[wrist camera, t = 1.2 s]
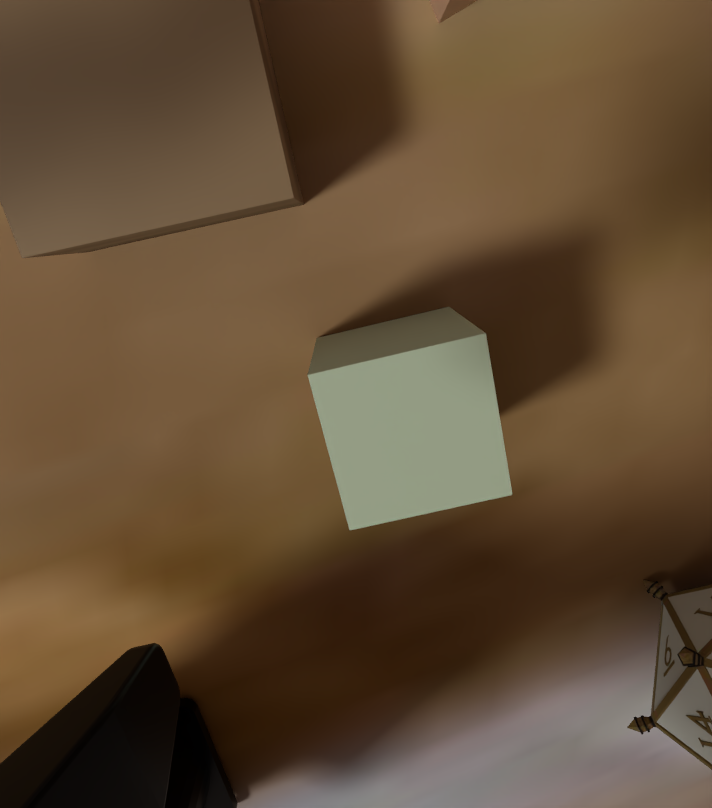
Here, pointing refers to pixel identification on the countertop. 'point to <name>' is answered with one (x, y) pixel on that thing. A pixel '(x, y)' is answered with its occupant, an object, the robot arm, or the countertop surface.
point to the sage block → (410, 417)
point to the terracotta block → (448, 7)
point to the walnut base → (136, 121)
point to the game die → (683, 671)
